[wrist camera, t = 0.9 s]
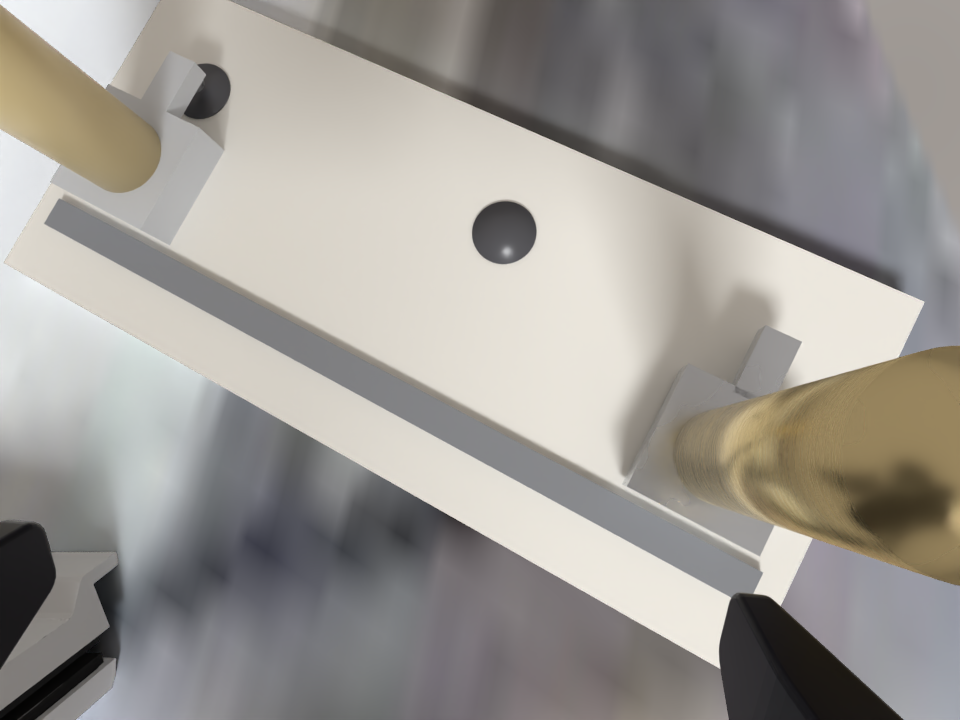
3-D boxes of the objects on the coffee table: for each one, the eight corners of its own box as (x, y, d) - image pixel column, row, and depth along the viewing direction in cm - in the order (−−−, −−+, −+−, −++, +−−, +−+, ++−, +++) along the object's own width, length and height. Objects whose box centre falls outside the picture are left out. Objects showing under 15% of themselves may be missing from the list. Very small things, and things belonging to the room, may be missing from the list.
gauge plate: (734, 669, 22) (1117, 1140, 7) (27, 270, 27) (-606, 53, 12) (905, 309, 23) (1563, 39, 8) (190, -4, 28) (-214, -508, 13)
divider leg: (745, 549, 21) (1084, 722, 7) (621, 483, 21) (727, 534, 8) (831, 370, 21) (1294, 232, 8) (707, 313, 22) (939, 98, 9)
